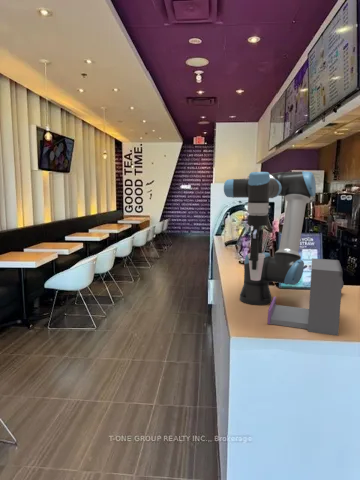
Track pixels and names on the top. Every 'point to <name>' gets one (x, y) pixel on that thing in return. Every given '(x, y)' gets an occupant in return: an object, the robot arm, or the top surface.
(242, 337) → the top surface
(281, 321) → the sealer tray
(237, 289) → the top surface
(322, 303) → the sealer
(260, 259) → the smoothie
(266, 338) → the top surface
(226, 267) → the top surface
